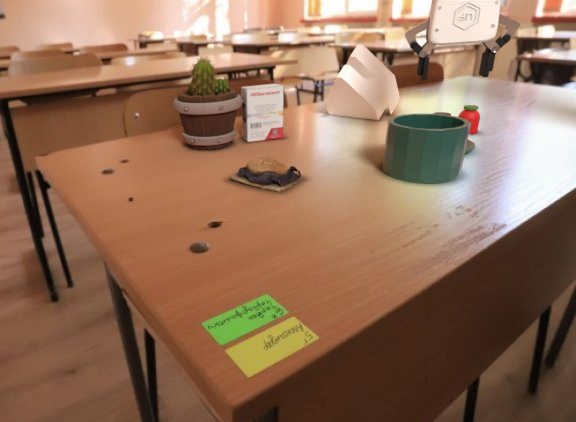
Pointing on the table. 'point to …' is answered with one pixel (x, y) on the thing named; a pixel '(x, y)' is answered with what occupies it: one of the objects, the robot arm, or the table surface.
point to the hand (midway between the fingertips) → (452, 77)
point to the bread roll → (268, 174)
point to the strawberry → (471, 117)
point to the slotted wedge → (363, 87)
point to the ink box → (262, 112)
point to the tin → (425, 147)
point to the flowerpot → (207, 108)
